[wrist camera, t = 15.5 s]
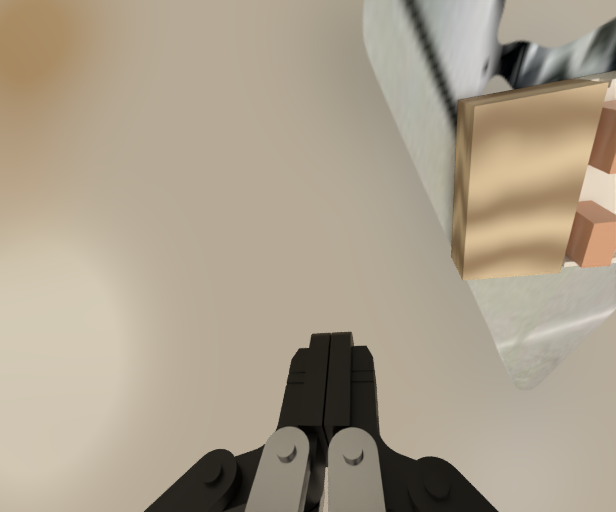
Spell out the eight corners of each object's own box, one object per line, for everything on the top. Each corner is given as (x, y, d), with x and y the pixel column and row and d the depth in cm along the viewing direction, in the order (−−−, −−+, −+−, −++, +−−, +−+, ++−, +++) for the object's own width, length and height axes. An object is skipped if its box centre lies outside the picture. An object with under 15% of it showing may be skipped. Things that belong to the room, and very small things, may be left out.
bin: (574, 78, 29) (603, 81, 25) (688, 57, 27) (736, 56, 23) (539, 248, 38) (557, 267, 34) (623, 241, 36) (651, 259, 32)
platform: (457, 100, 31) (474, 106, 26) (571, 78, 29) (609, 82, 24) (451, 256, 40) (462, 280, 35) (537, 248, 38) (560, 272, 33)
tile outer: (594, 223, 30) (625, 220, 29) (564, 203, 34) (591, 200, 33) (581, 267, 32) (609, 265, 32) (554, 243, 36) (579, 241, 36)
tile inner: (627, 112, 25) (666, 106, 24) (587, 104, 29) (620, 99, 28) (609, 174, 27) (643, 169, 27) (575, 158, 31) (604, 154, 31)
